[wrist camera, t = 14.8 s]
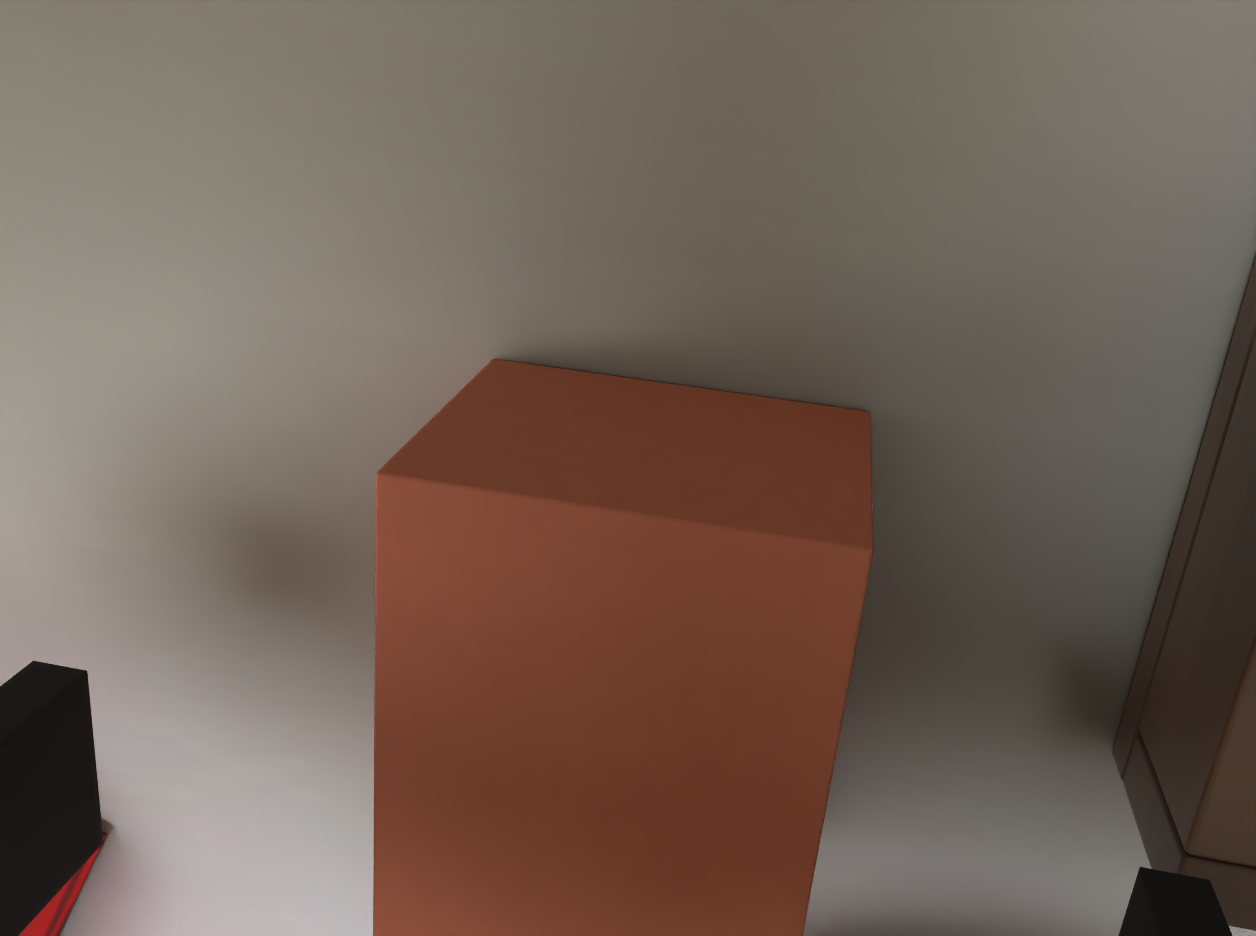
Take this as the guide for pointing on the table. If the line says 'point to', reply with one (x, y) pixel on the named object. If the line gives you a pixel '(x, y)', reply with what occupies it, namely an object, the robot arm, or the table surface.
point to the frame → (1205, 662)
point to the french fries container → (59, 904)
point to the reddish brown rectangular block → (612, 656)
